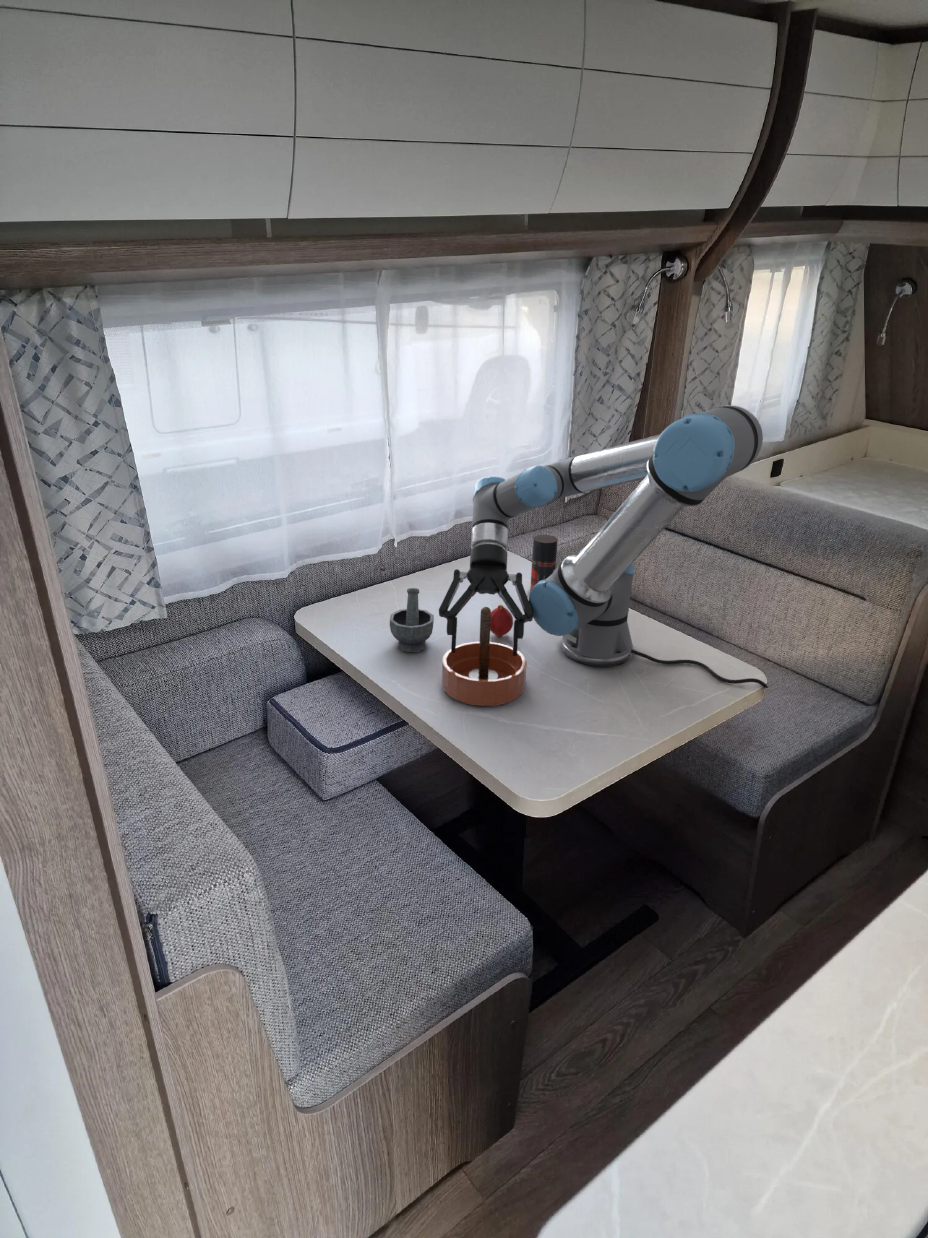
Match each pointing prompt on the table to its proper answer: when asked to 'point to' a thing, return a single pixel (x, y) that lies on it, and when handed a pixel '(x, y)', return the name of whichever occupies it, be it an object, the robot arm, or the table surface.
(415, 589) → the mortar and pestle
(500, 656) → the bowl
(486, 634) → the wooden peg stand
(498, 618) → the onion
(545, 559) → the deodorant
